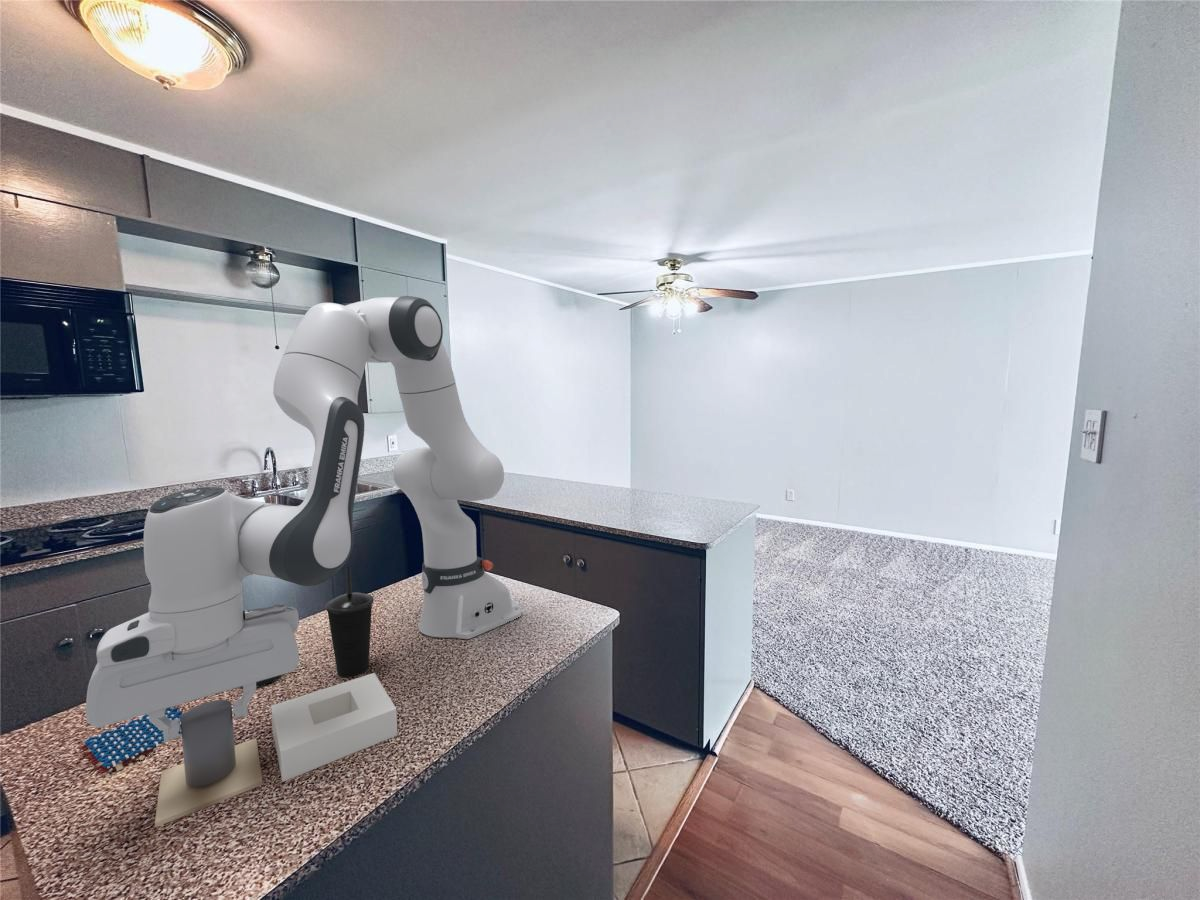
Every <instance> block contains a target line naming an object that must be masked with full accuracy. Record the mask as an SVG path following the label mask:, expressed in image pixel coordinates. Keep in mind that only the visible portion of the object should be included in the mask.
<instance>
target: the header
mask: <svg viewBox="0 0 1200 900" xmlns="http://www.w3.org/2000/svg"><path fill="white" fill-rule="evenodd" d="M270 709H271V711H270V712H271V724H272V726H271V727H272V736H273V741H274V746H275V750H276V756H277V762H278V767H279V772H280V776H281V781H282V782H285V781H288V780H290V779H293V778H295V777H298V776H300V775H303V774H306V773H307V772H310V771H312V770H315V769H317V768H320V767H322V766H325V765H327V764H330V763H333V762H335V761H337V760H340V759H343V758H346V757H348V756H350V755H353V754H355V753H356V752H360V751H362V750H364V749H367V748H370V747H372V746H374V745H377V744H379V743H381V742H385V741H387V740H389V739H392V738H394V737H396V736H398V718H397V717H398V716H397V707H396V706H395V704H394V703H393V701H392V699H391V697H390V696H389V694H388V693H387V691H386V690H385V688H384V686H383V684H382V683H381V681H380V680H379V678H378V676H377V674H376V673H375V672H373V673H369V674H367V675H366V674H365V675H363V676H359V677H357V678H354V679H351V680H346V681H344V682H342V683H338V684H333V685H331V686H329V687H326V688H322V689H319V690H316V691H313V692H309V693H307V694H303V695H301V696H298V697H294V698H290V699H287V700H283V701H281V702H279V703H275V704H271V706H270Z"/></svg>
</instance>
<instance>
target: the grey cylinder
mask: <svg viewBox="0 0 1200 900" xmlns="http://www.w3.org/2000/svg"><path fill="white" fill-rule="evenodd" d="M183 714H184V715H183V716H182V717H181V732H182V734H181V742H182V744H181V745H182V753H183V763H184V767H185V778H186V784H187V785H189V786H192V787H199V786H205V785H208V784H211V783H214V782H216V781H218V780H220V779H222V778H223V777H225V776H226V775H228V774H229V773H230V772H231V771H232V770H233V769H234V767H235V765H236V756H235V745H236V744H235V731H234V715H233V703H232V702H231V701H230V700H228V699H218V700H217V699H216V700H210V701H206V702H203V703H201V704H198V705H196V706H194V707H191V709H189V710H187V711H185V712H184V713H183Z"/></svg>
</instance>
